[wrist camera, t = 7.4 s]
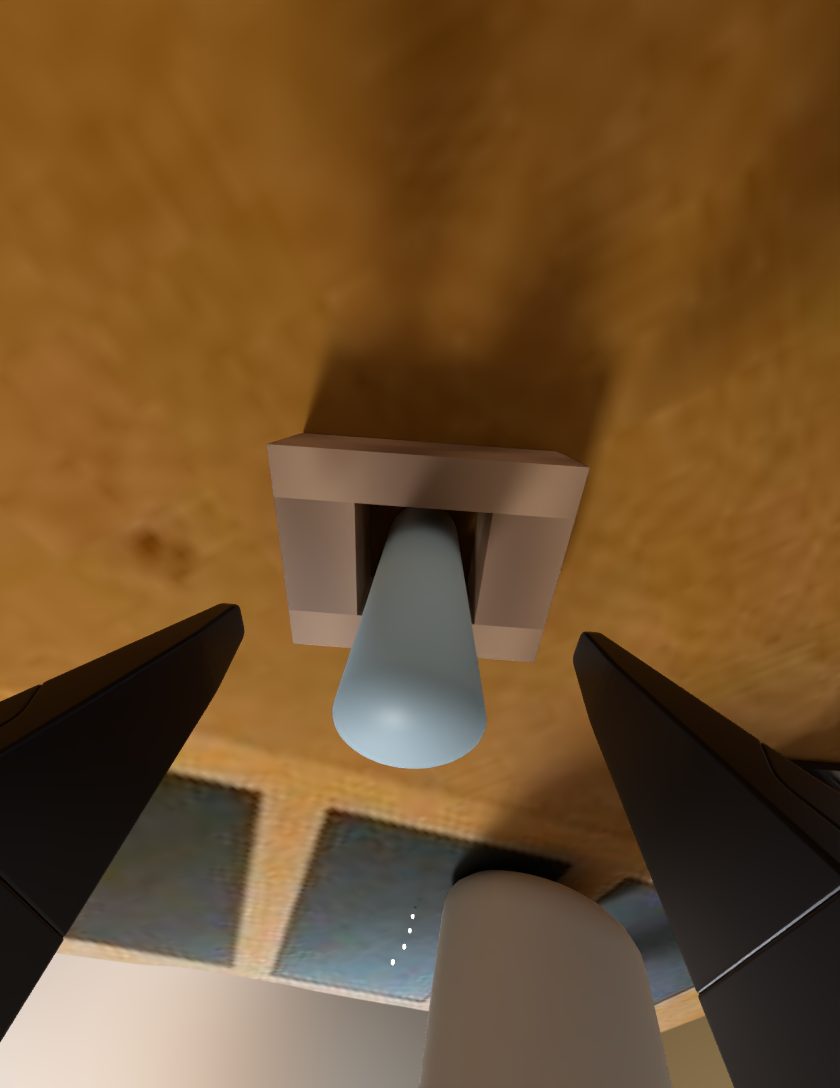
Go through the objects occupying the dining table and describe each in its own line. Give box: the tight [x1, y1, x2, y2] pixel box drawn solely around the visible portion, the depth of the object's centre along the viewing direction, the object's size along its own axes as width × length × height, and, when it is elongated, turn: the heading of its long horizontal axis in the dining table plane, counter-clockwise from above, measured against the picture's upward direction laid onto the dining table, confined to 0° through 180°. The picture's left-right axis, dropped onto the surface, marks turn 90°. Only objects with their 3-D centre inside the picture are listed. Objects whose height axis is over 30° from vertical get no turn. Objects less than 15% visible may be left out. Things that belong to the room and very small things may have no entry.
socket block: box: [267, 433, 590, 662], centre depth 13 cm, size 10×8×3 cm
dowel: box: [333, 507, 486, 769], centre depth 10 cm, size 3×3×9 cm
